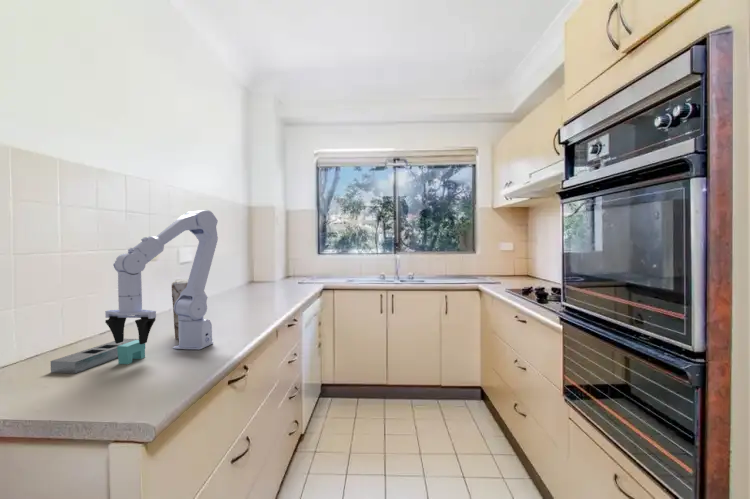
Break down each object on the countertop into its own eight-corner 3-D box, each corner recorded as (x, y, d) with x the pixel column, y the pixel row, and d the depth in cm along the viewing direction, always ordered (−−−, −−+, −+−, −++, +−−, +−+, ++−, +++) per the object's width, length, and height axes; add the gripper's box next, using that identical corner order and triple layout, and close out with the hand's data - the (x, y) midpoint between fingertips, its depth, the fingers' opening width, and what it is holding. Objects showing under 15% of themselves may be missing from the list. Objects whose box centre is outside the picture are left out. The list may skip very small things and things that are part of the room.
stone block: (195, 338, 141) (193, 281, 140) (172, 340, 138) (171, 282, 137) (194, 330, 153) (193, 278, 152) (174, 332, 150) (172, 279, 149)
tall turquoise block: (136, 356, 119) (135, 339, 118) (145, 357, 118) (145, 340, 118) (117, 364, 112) (117, 346, 112) (127, 364, 111) (127, 346, 111)
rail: (142, 348, 128) (142, 339, 128) (75, 373, 104) (75, 362, 104) (121, 347, 129) (121, 338, 129) (50, 372, 105) (50, 361, 105)
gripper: (95, 297, 112) (97, 345, 112) (143, 297, 109) (144, 347, 110) (115, 293, 119) (117, 339, 119) (160, 294, 116) (161, 341, 117)
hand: (131, 343), depth 115 cm, fingers open, 7 cm apart
